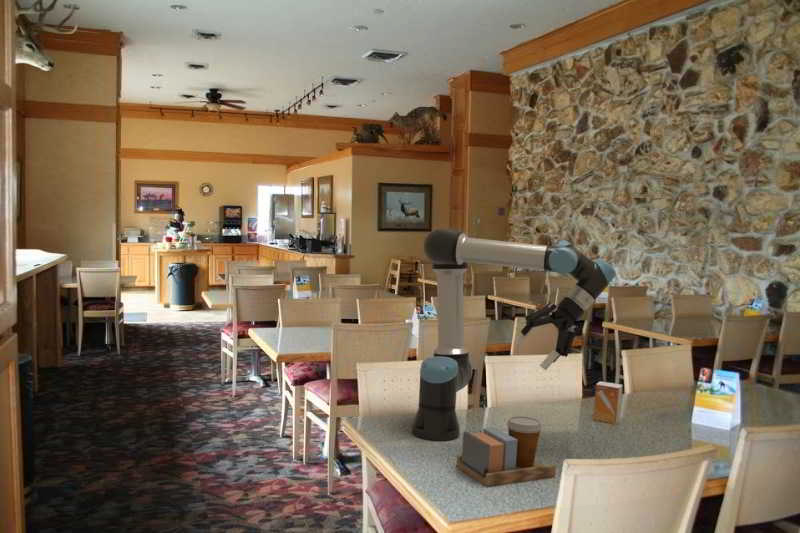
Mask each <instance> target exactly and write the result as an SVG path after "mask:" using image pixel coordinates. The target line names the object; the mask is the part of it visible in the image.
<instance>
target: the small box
mask: <svg viewBox="0 0 800 533" xmlns="http://www.w3.org/2000/svg"><path fill="white" fill-rule="evenodd" d="M622 396H623V384H619V383H615V382H607V381H598V382H597V383H596V384H595V395H594V403H593V404H594V405H593V418H592V419H593V421H598V422H602V423H607V424H613V425H617V424H618V423H619V422H620V419H621V412H622V411H621V408H622V398H623V397H622ZM618 421H619V422H618Z"/></svg>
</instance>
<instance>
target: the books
mask: <svg viewBox="0 0 800 533" xmlns="http://www.w3.org/2000/svg"><path fill="white" fill-rule="evenodd" d="M471 434H472V435H474V436H475V437H477V438H479V439H481V440H482V441H484V442H486V443H488V444H489V445H490V451H489V466H488V473H493V472H500V471H508V470H515V469H516V456H517V441H518V440H517V439H515V438H513V437H511V436H509V433H508V434H507V433H505V432H503V431H502V430H499V429H498V428H497V427H485V428H483V429H482V432H476V433H471Z"/></svg>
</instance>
